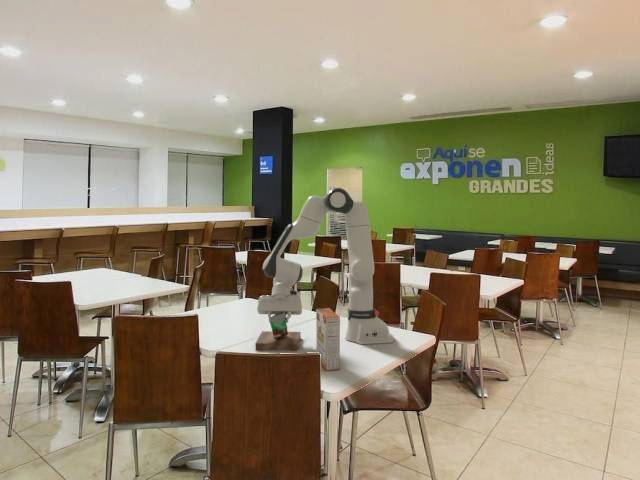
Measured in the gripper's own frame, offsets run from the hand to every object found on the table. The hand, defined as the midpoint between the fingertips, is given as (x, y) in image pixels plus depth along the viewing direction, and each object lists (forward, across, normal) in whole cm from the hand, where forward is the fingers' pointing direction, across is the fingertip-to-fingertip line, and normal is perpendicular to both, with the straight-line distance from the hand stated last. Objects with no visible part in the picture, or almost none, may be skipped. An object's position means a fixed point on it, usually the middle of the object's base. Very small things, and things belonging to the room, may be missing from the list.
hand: (278, 321), depth 206 cm
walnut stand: (+7, 0, +8) cm, 10 cm away
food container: (+4, +2, +4) cm, 7 cm away
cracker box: (+25, +22, -10) cm, 34 cm away
